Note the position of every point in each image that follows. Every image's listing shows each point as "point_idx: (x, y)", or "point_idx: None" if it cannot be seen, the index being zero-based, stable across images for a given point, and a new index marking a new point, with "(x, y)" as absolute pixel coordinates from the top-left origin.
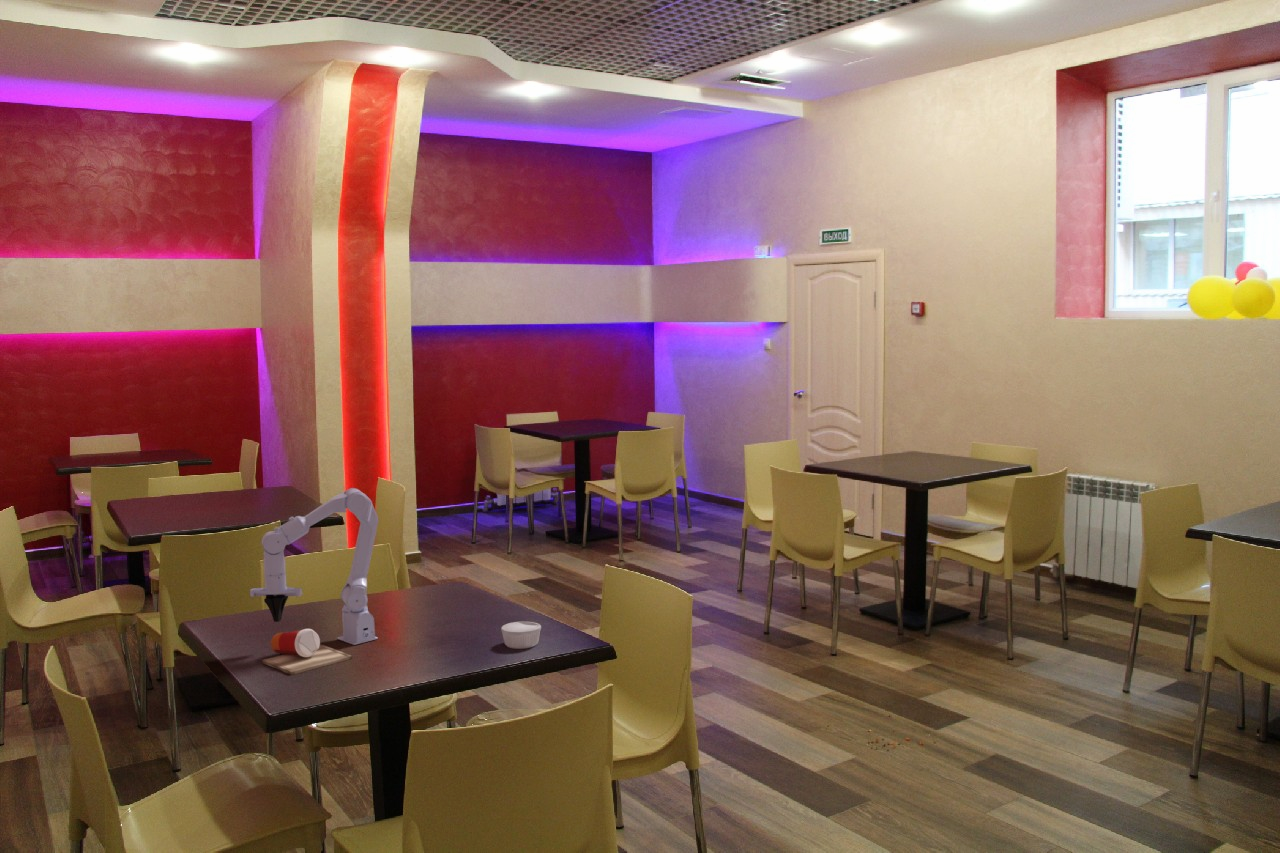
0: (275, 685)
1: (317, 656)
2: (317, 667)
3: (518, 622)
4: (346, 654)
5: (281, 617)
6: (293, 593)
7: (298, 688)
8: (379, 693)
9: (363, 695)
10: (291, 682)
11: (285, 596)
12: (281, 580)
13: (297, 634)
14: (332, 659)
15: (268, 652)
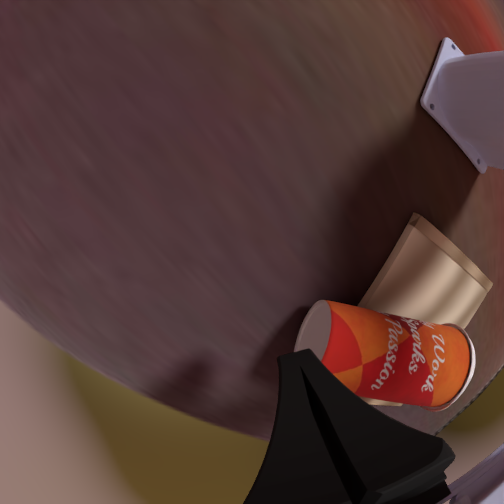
0: None
1: (434, 318)
2: None
3: None
4: (485, 281)
5: (317, 358)
6: (501, 464)
7: (419, 419)
8: (498, 373)
9: (485, 386)
10: (405, 415)
11: (435, 485)
12: None
13: (434, 411)
14: (464, 320)
15: (241, 314)
